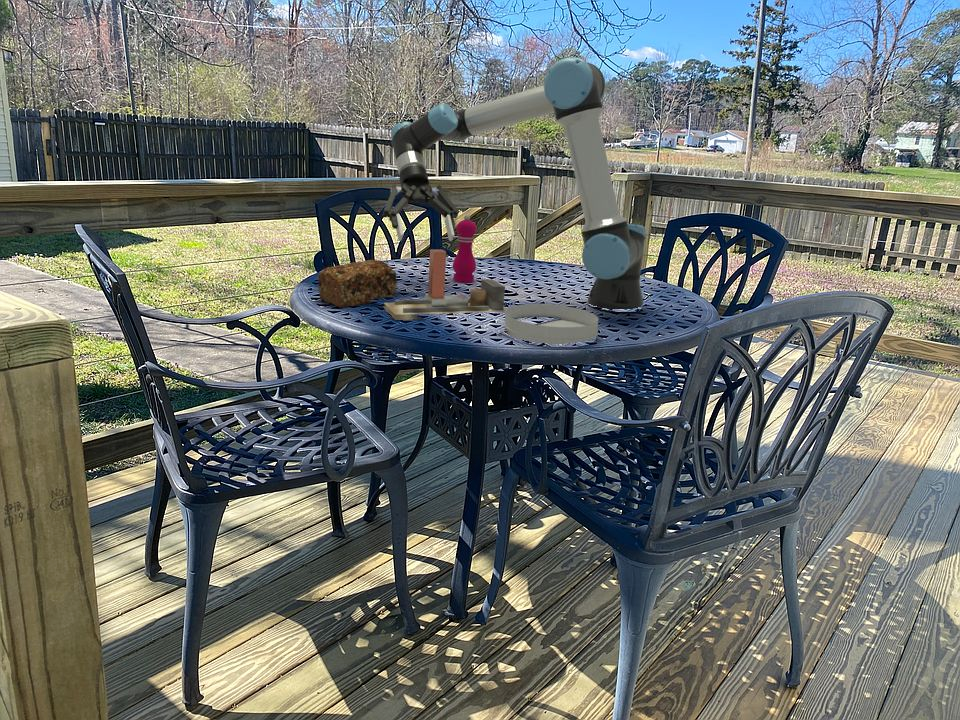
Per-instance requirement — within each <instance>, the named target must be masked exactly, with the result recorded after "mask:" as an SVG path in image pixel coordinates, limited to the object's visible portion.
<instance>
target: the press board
mask: <svg viewBox="0 0 960 720" xmlns="http://www.w3.org/2000/svg"><path fill="white" fill-rule="evenodd" d="M480 281H481V282H480V289H483V290H486V306H470V297H467V298H468V306H458V307H428V306H427V305H426V304H425V298H422V299H421V298H419V299H418V298H416V299H394V302H383V304H384V305H383V306H382V307H383V308H384V309H385V310H386V311H387V312H388V313H389V314H390V315H391V316H392V317H393V318H394V319H395V320H403V321H426V320H427V319H425V318H424V317H420V316H417V315H436V314H437V315H438V314H464V313H465V314H466V313H467V314H469V313H500V312H504V313H505V311H506V310H507V309H508V308H507V307H505V305H504V304H505V294H506V293H505V291H506V286H505V285H503V284H501V283H500V282H497V281H496V280H494V279H493V278H492V279H491V278H489V279H487V278H485V279H484V278H481V280H480ZM384 309H383V310H384ZM385 310H384V311H385ZM386 311H385V312H386ZM387 312H386V313H387ZM388 313H387V314H388ZM389 314H388V315H389ZM390 315H389V316H390ZM391 316H390V317H391ZM392 317H391V318H392ZM393 318H392V319H393ZM394 319H393V320H394ZM413 319H415V320H413ZM417 319H418V320H417ZM419 319H421V320H419ZM395 320H394V321H395Z"/></svg>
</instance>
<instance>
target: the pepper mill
mask: <svg viewBox="0 0 960 720" xmlns="http://www.w3.org/2000/svg"><path fill="white" fill-rule="evenodd" d="M470 219H471V216H470V215H468V214H465V215H464V217H463V220H460V221H459V222H458V223H457V225H456V229H455V230H456V233H457V234H458V236H457V241H458V250H457V253H456V255H455V257H454V260H453V262H452V269H453V271H454V273H453V281H454V282H457V283H473V282H474V280H475V276H474V274H473V273H474V272H475V271H476V269H477V263H476V260H475V259H476V258H475V256H474V254H473V242H475V240H474V239H475V237H474V235H475V234H476V233H477V225H476V224H475V222H474V221H472V220H470Z"/></svg>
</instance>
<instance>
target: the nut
mask: <svg viewBox="0 0 960 720" xmlns="http://www.w3.org/2000/svg"><path fill="white" fill-rule="evenodd" d="M469 298H470V306H486V290H483V289H481V288H471V289H469Z"/></svg>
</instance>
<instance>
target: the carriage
mask: <svg viewBox="0 0 960 720" xmlns="http://www.w3.org/2000/svg"><path fill="white" fill-rule="evenodd" d="M446 266H447V251H446V250H444V249H429V265H428V288H427V289H428V291H427V293H425V294H424V299H425V304H426V305H427V306H428V307H458V306H468V298H469V297H467V296H466V295H464V294H463V295H461V294H459V295H445V291H446V290H445V287H446V286H445V284H446Z"/></svg>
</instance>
